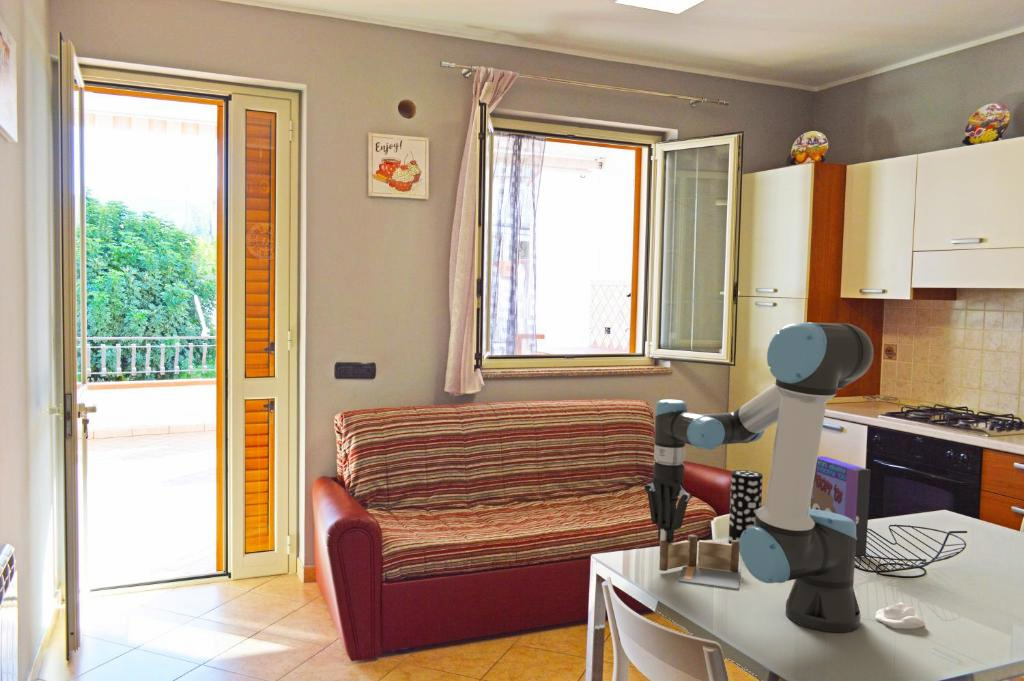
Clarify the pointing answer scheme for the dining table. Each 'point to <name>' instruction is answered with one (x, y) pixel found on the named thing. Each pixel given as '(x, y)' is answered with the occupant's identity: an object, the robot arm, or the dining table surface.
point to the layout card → (710, 577)
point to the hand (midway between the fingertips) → (665, 554)
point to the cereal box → (843, 494)
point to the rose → (899, 616)
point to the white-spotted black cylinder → (744, 501)
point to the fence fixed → (714, 554)
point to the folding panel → (674, 554)
